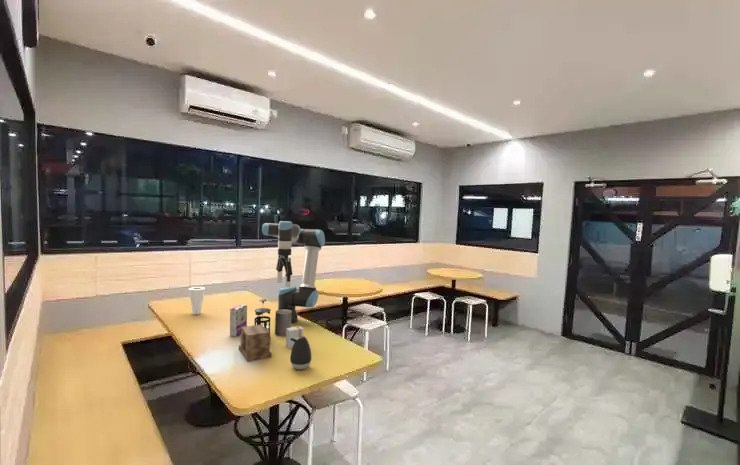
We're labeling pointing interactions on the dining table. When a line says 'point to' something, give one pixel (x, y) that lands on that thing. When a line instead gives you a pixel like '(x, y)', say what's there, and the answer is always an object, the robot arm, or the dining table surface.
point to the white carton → (293, 335)
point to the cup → (196, 298)
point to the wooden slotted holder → (255, 342)
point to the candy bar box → (238, 319)
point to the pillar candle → (282, 321)
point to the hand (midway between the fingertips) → (283, 284)
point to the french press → (258, 318)
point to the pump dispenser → (300, 353)
